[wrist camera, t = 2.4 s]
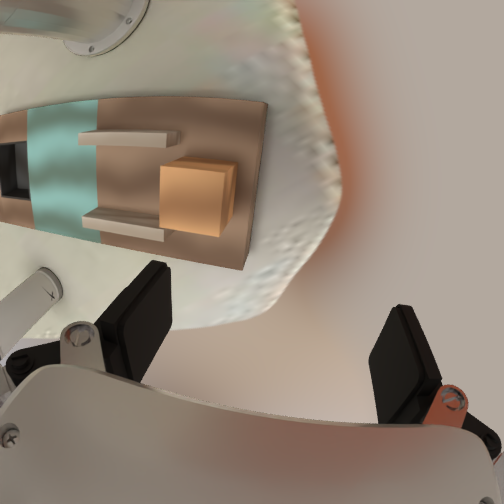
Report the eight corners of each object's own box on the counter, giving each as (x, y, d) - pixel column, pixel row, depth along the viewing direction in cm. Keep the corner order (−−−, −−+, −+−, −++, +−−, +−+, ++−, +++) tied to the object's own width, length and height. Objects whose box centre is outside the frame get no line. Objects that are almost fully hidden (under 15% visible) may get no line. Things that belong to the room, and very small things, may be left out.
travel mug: (66, 282, 40) (-14, 363, 22) (59, 305, 43) (-10, 381, 25) (41, 258, 39) (-43, 329, 21) (35, 283, 42) (-37, 351, 24)
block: (183, 156, 25) (160, 165, 21) (238, 162, 25) (224, 172, 20) (181, 208, 28) (159, 227, 23) (232, 215, 27) (219, 237, 23)
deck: (6, 114, 29) (-28, 122, 23) (267, 104, 26) (258, 100, 20) (12, 211, 36) (-17, 227, 30) (248, 252, 33) (236, 286, 27)
